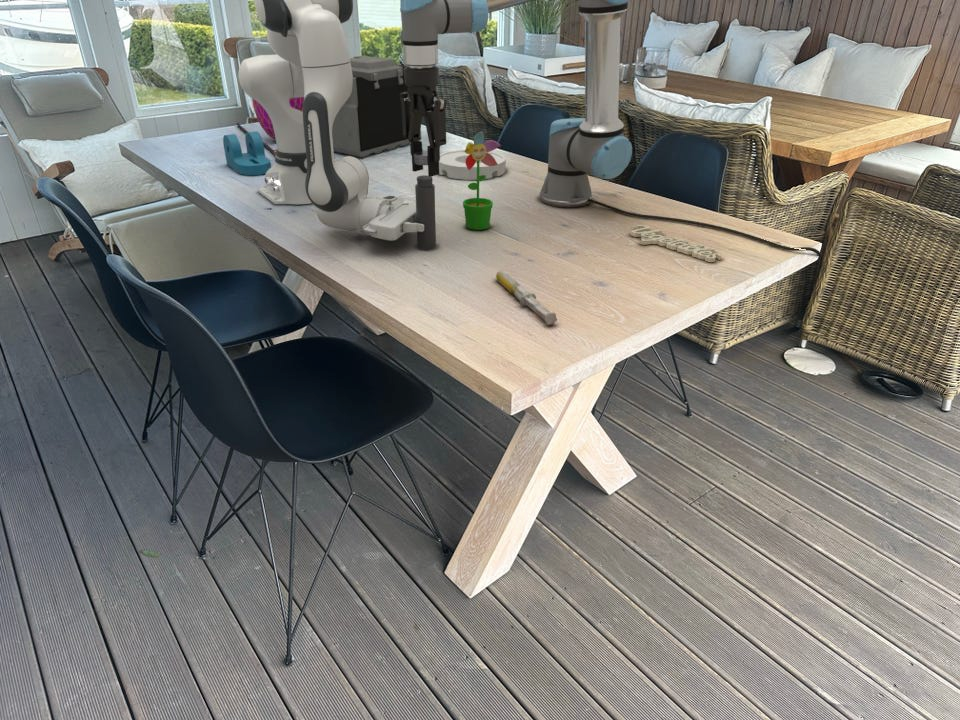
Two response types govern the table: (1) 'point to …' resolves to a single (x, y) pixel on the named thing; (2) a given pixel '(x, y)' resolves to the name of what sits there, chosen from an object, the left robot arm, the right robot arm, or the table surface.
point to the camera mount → (246, 154)
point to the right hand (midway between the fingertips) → (425, 172)
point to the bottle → (425, 212)
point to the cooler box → (371, 109)
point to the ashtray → (457, 168)
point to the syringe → (525, 297)
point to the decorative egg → (265, 119)
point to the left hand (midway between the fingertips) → (429, 223)
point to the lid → (421, 157)
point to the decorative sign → (674, 243)
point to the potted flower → (478, 207)
